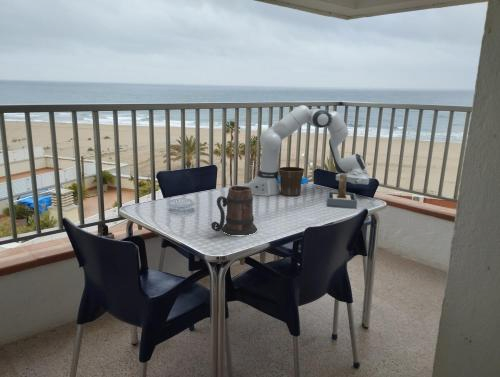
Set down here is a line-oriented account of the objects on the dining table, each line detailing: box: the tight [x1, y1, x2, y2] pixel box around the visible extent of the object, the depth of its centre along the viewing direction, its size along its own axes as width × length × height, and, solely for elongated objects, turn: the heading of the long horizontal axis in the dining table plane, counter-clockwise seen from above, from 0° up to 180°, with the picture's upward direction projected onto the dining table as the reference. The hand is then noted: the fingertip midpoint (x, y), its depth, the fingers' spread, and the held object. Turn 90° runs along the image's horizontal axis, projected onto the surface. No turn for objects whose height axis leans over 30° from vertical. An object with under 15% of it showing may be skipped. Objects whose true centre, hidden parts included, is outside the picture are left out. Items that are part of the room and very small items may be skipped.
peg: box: [337, 173, 347, 198], centre depth 209 cm, size 4×4×16 cm
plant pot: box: [278, 166, 305, 197], centre depth 229 cm, size 16×16×16 cm
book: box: [278, 176, 309, 187], centre depth 256 cm, size 17×4×25 cm
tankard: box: [210, 185, 258, 236], centre depth 164 cm, size 24×17×20 cm
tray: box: [326, 191, 358, 209], centre depth 211 cm, size 16×16×4 cm
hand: (348, 181), depth 219 cm, fingers open, 8 cm apart
